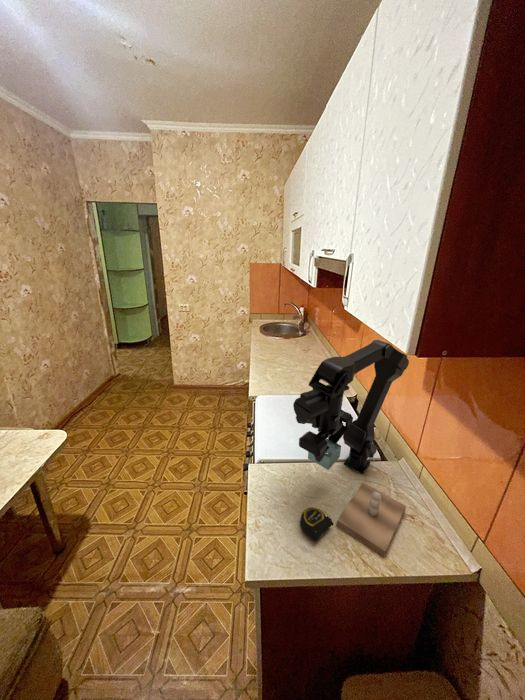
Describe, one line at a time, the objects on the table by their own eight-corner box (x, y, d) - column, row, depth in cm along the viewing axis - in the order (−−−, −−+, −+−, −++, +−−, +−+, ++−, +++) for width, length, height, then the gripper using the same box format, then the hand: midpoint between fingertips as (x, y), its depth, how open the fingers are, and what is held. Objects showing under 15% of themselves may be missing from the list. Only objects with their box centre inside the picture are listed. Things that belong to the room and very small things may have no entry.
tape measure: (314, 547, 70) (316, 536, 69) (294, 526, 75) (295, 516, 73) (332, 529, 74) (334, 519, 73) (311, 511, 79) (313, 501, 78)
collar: (319, 446, 86) (321, 435, 85) (339, 457, 83) (341, 445, 81) (307, 458, 82) (308, 446, 80) (328, 469, 78) (329, 458, 77)
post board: (361, 487, 86) (366, 464, 83) (404, 510, 79) (411, 486, 76) (336, 525, 75) (340, 500, 72) (383, 557, 68) (390, 531, 65)
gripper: (321, 383, 87) (317, 427, 93) (283, 410, 74) (280, 458, 80) (357, 397, 81) (349, 443, 86) (321, 428, 67) (316, 480, 73)
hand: (324, 454), depth 82 cm, fingers closed on collar, 6 cm apart
